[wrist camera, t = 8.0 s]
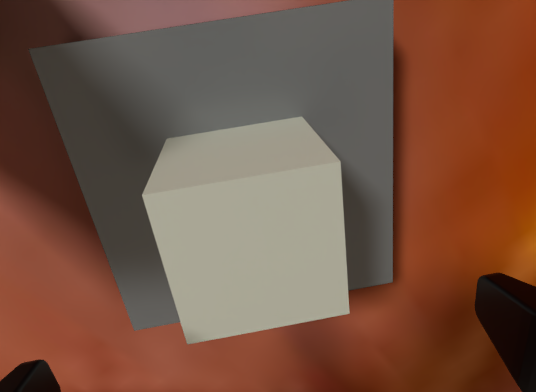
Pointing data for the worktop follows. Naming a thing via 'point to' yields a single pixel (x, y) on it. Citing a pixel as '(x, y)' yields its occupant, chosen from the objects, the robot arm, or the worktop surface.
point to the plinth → (226, 121)
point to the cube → (250, 228)
